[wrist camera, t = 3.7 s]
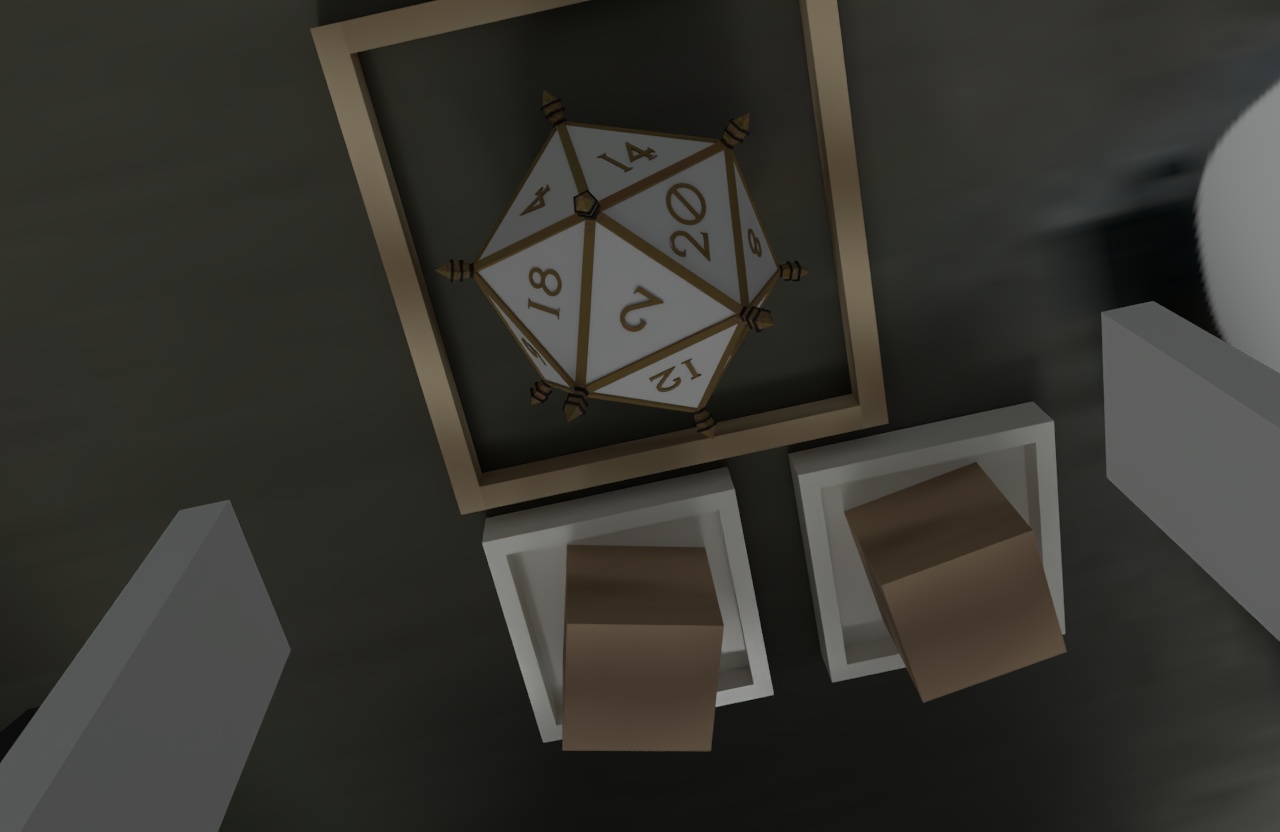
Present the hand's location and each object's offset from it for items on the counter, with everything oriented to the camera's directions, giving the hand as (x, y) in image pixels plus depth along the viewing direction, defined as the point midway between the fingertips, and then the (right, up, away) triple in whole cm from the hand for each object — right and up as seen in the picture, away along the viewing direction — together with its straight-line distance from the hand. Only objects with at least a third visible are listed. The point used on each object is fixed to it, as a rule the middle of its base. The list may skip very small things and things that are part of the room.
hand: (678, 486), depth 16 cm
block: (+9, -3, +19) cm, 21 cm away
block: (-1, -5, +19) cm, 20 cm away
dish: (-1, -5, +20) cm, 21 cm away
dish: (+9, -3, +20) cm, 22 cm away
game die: (-1, +6, +15) cm, 17 cm away
